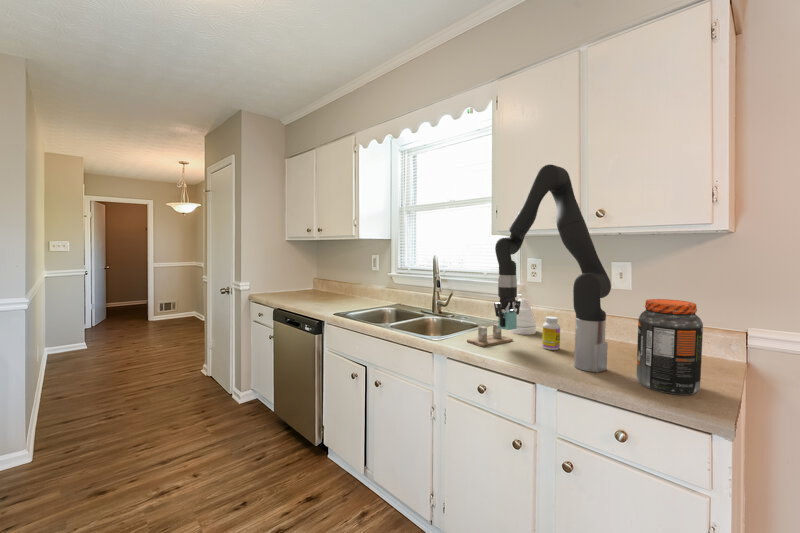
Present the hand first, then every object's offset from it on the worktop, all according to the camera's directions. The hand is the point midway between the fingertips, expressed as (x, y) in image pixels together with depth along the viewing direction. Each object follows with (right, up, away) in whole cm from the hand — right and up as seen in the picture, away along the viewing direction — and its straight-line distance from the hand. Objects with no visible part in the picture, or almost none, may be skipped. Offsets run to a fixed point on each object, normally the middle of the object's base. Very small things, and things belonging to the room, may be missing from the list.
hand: (507, 325), depth 154 cm
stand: (-5, -8, +8) cm, 13 cm away
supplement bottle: (+17, -9, -2) cm, 20 cm away
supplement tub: (+36, -12, -42) cm, 57 cm away
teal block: (0, -1, 0) cm, 1 cm away
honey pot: (+15, -7, +27) cm, 32 cm away
